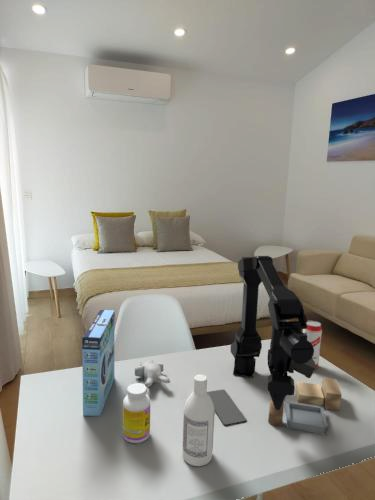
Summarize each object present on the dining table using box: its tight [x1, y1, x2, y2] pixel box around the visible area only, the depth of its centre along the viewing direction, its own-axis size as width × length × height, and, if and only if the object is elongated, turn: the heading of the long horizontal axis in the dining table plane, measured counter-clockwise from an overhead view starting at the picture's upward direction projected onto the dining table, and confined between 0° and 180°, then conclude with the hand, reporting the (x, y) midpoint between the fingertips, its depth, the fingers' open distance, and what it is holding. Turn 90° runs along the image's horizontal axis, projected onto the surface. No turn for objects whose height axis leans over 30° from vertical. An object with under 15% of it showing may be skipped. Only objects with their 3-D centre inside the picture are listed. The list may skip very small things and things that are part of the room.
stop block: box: [320, 377, 343, 411], centre depth 107 cm, size 4×8×5 cm, turn 168°
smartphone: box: [207, 388, 248, 427], centre depth 103 cm, size 7×1×15 cm
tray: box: [285, 400, 329, 436], centre depth 98 cm, size 10×9×2 cm
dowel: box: [267, 399, 285, 428], centre depth 96 cm, size 4×4×6 cm
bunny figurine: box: [134, 360, 171, 388], centre depth 115 cm, size 10×5×15 cm
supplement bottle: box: [122, 382, 151, 444], centre depth 89 cm, size 7×7×13 cm
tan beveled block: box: [294, 381, 324, 407], centre depth 109 cm, size 7×7×3 cm
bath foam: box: [182, 374, 216, 467], centre depth 82 cm, size 7×7×20 cm
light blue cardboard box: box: [81, 309, 116, 417], centre depth 104 cm, size 20×5×23 cm, turn 0°
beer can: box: [302, 320, 323, 369], centre depth 126 cm, size 6×6×16 cm
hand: (277, 398), depth 96 cm, fingers open, 9 cm apart
